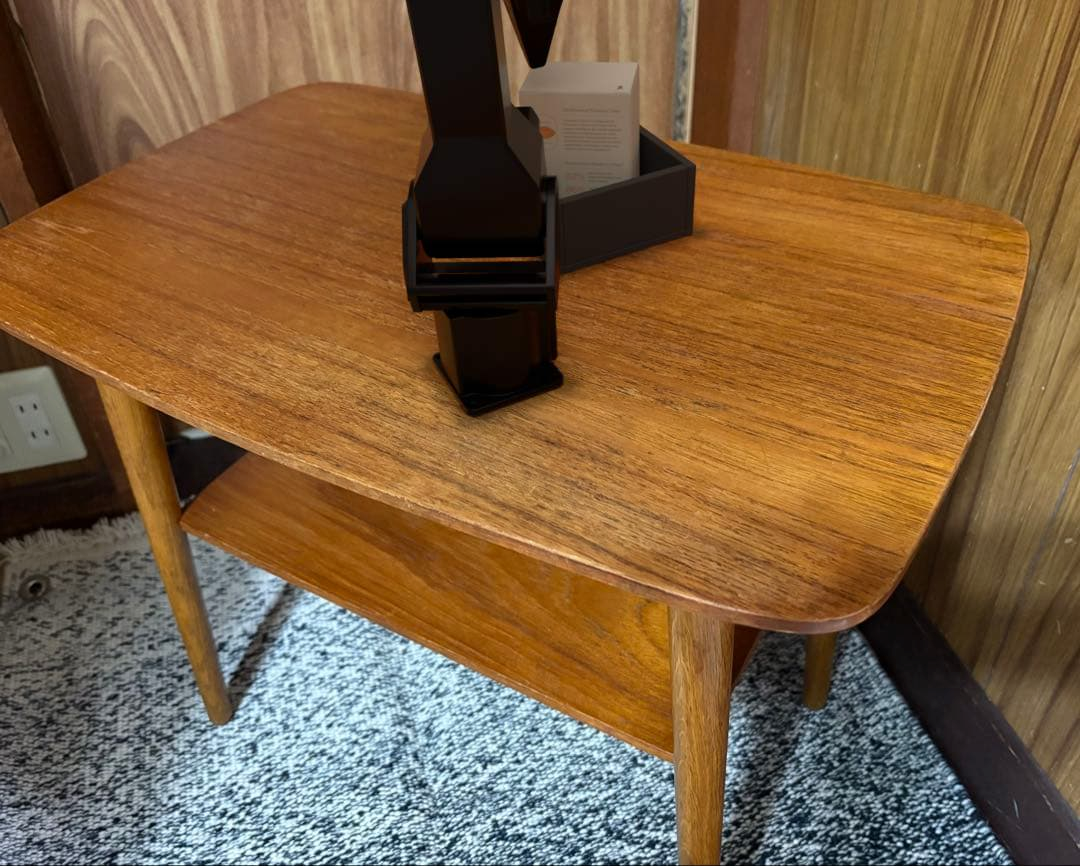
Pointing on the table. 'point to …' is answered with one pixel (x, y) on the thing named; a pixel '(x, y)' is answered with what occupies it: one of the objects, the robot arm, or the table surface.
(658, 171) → the storage bin
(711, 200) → the table surface
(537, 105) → the small box
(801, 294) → the table surface
